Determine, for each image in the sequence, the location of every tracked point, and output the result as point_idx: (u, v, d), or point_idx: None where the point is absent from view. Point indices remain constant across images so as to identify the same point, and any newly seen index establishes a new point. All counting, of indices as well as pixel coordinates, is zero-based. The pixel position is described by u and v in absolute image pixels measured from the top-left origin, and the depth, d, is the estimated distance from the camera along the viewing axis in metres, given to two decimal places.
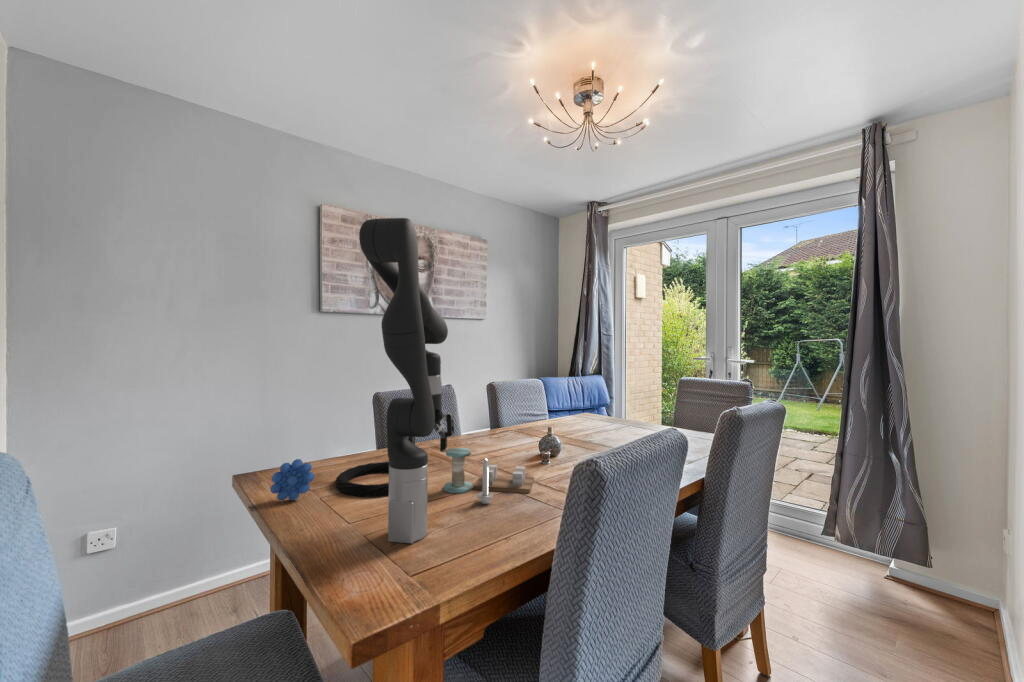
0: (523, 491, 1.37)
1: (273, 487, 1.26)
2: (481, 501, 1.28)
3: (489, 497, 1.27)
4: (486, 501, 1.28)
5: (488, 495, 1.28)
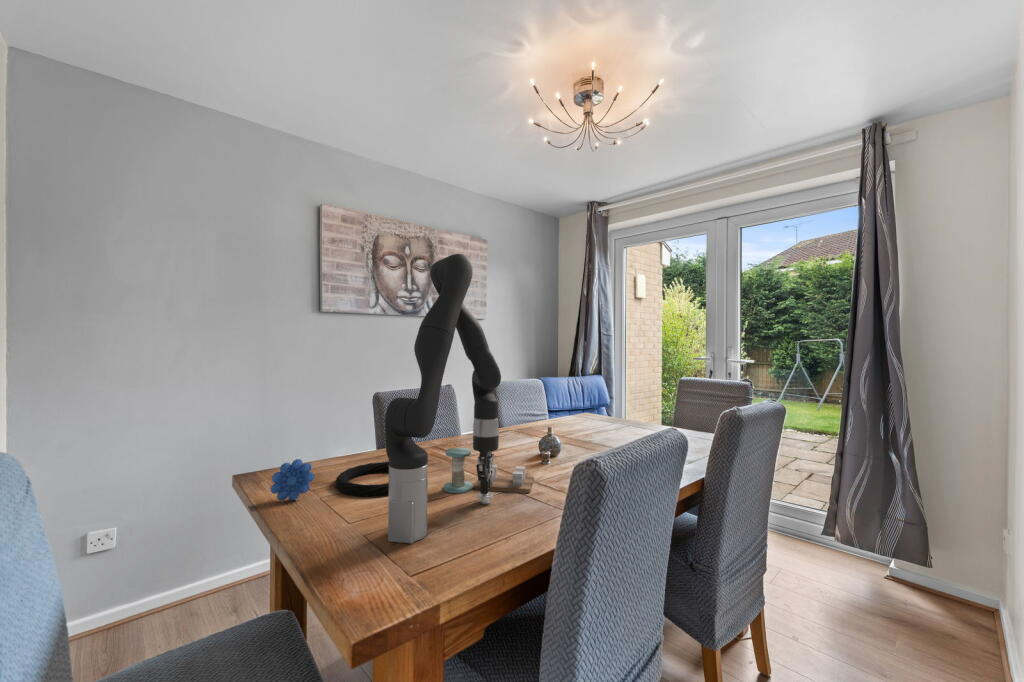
0: (523, 491, 1.37)
1: (273, 487, 1.26)
2: (481, 501, 1.28)
3: (489, 497, 1.27)
4: (486, 501, 1.28)
5: (488, 495, 1.28)
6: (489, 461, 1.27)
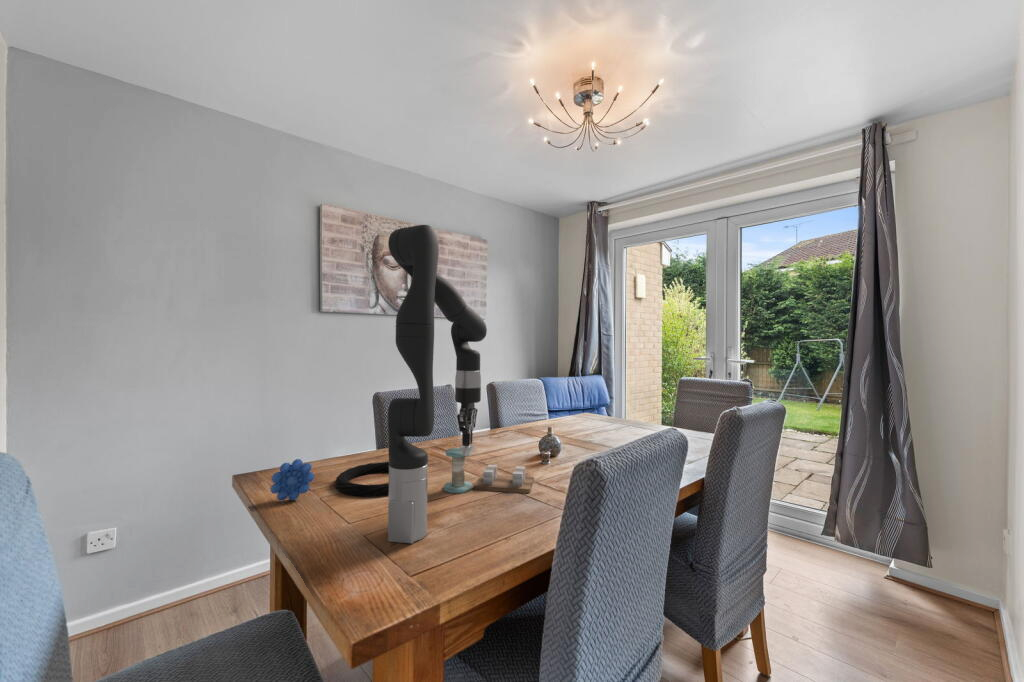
0: (523, 491, 1.37)
1: (273, 487, 1.26)
2: (463, 453, 1.29)
3: (471, 449, 1.28)
4: (468, 453, 1.28)
5: (470, 447, 1.29)
6: (471, 413, 1.28)
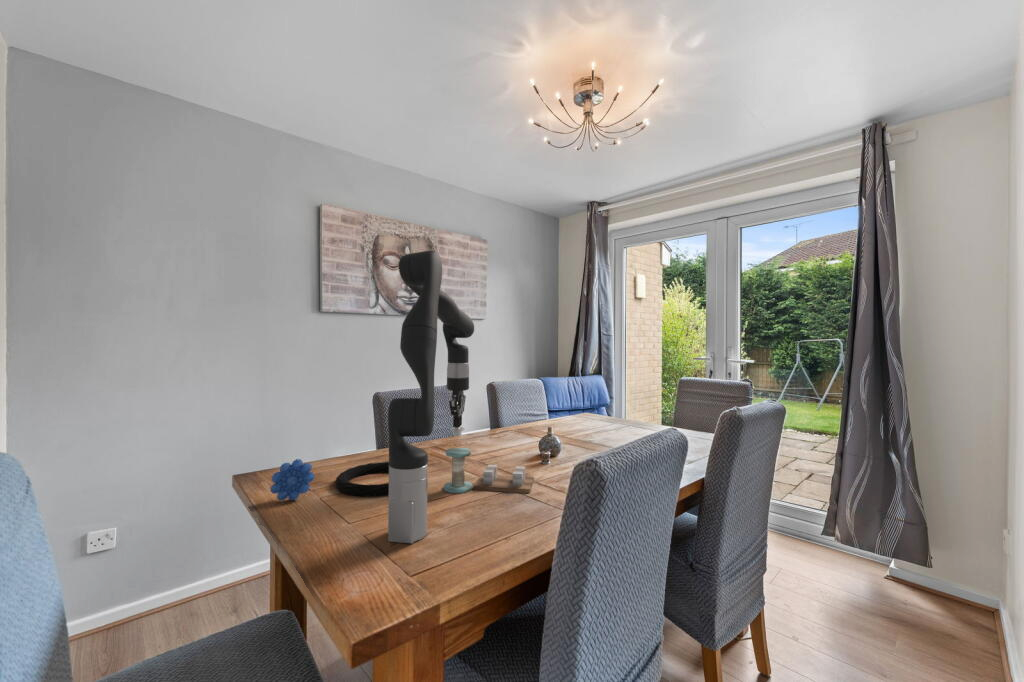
0: (523, 491, 1.37)
1: (273, 487, 1.26)
2: (454, 434, 1.50)
3: (460, 430, 1.49)
4: (458, 433, 1.50)
5: (459, 428, 1.50)
6: (460, 399, 1.48)
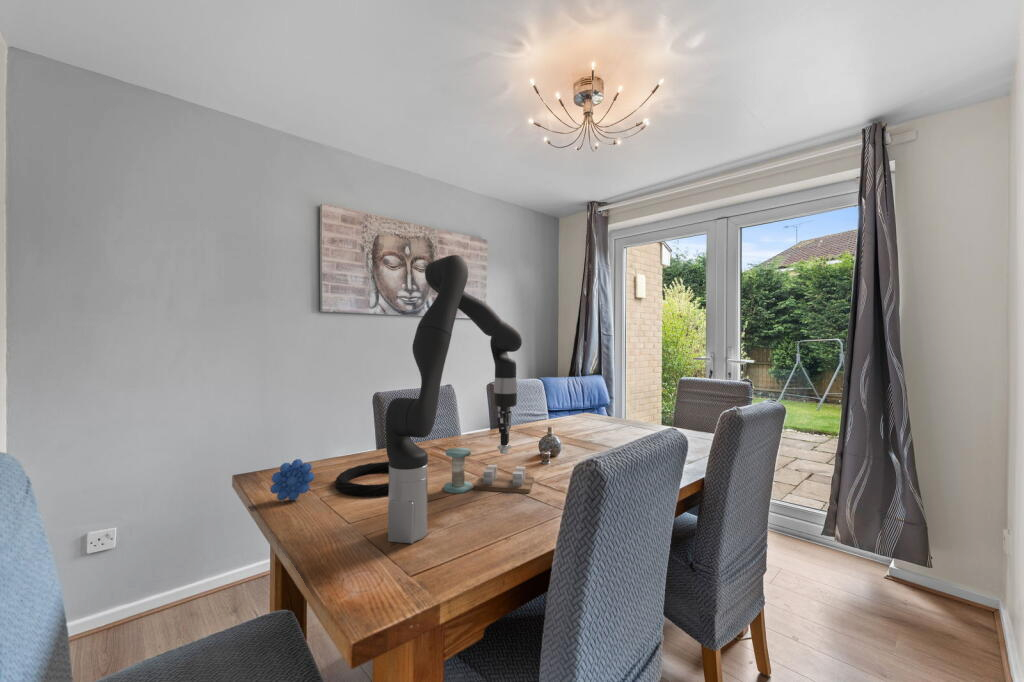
0: (523, 491, 1.37)
1: (273, 487, 1.26)
2: (501, 452, 1.44)
3: (508, 448, 1.42)
4: (505, 451, 1.43)
5: (507, 446, 1.43)
6: (508, 416, 1.42)
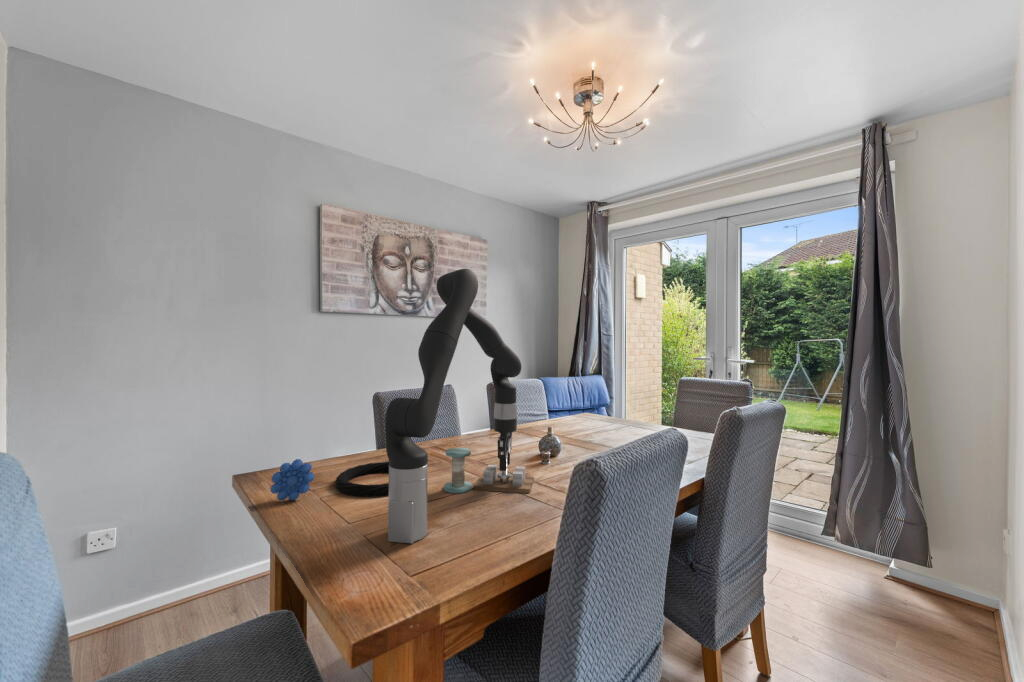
0: (523, 491, 1.37)
1: (273, 487, 1.26)
2: (501, 480, 1.44)
3: (508, 476, 1.42)
4: (505, 480, 1.43)
5: (507, 475, 1.43)
6: (508, 440, 1.42)
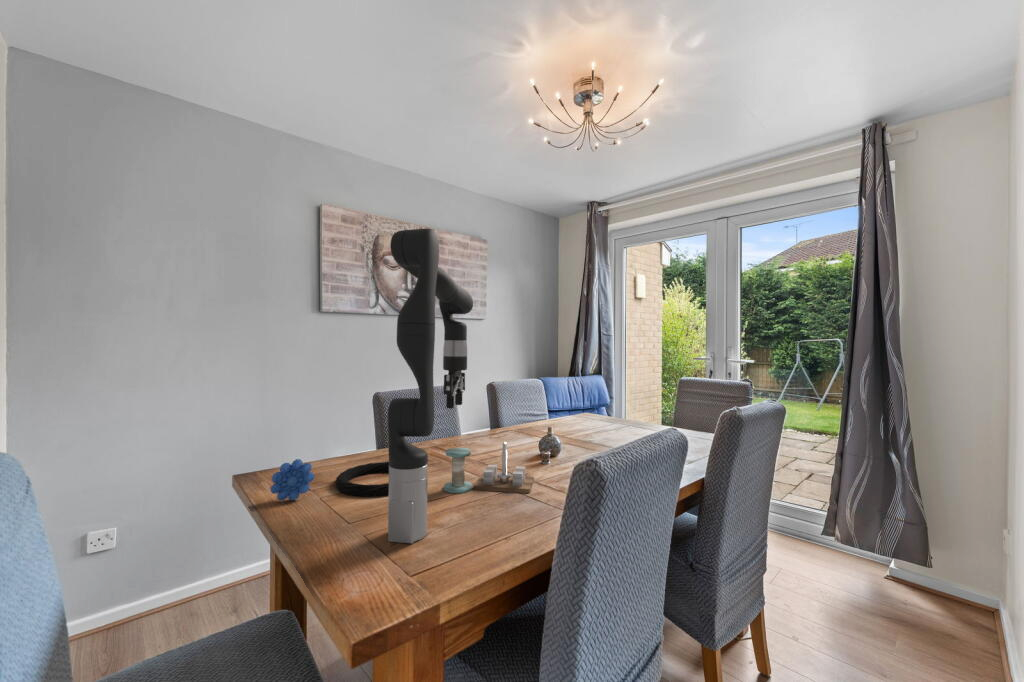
0: (523, 491, 1.37)
1: (273, 487, 1.26)
2: (501, 480, 1.44)
3: (508, 476, 1.42)
4: (505, 480, 1.43)
5: (507, 475, 1.43)
6: (457, 378, 1.37)
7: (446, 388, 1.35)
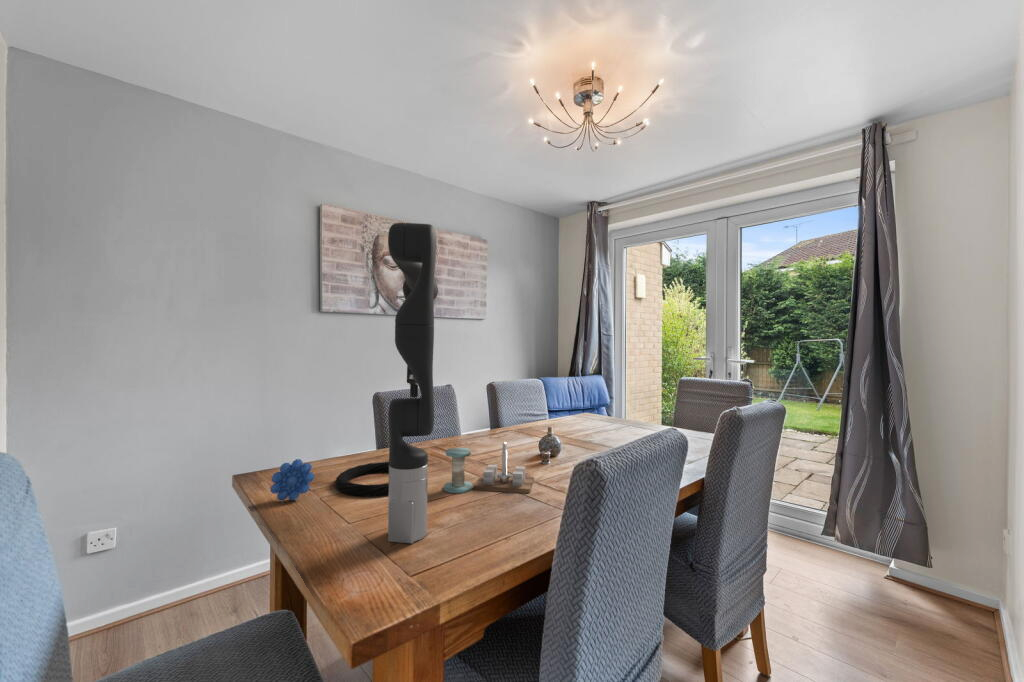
0: (523, 491, 1.37)
1: (273, 487, 1.26)
2: (501, 480, 1.44)
3: (508, 476, 1.42)
4: (505, 480, 1.43)
5: (507, 475, 1.43)
6: None
7: (410, 377, 1.33)
